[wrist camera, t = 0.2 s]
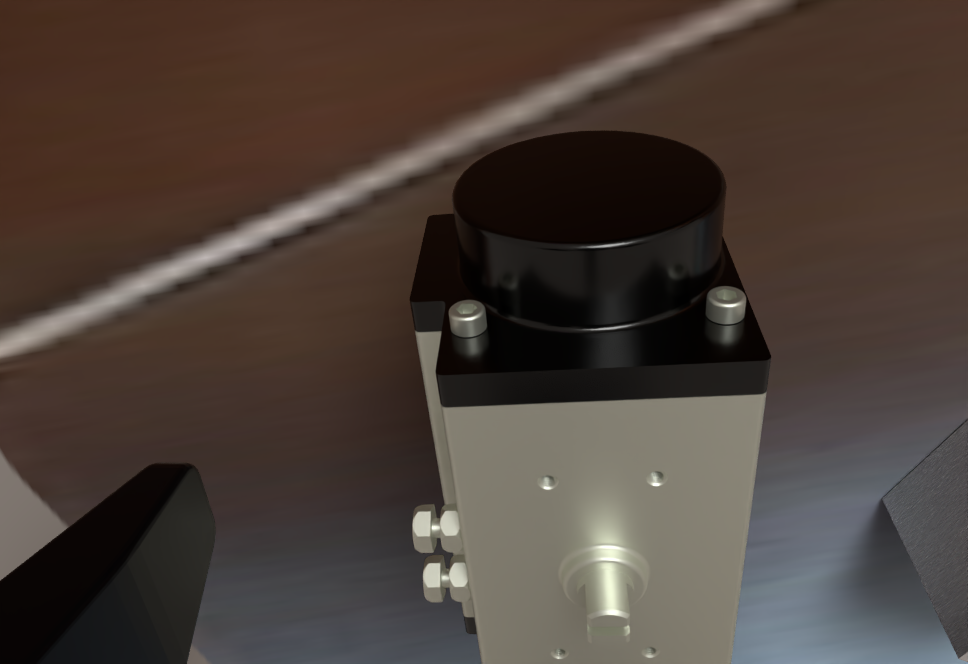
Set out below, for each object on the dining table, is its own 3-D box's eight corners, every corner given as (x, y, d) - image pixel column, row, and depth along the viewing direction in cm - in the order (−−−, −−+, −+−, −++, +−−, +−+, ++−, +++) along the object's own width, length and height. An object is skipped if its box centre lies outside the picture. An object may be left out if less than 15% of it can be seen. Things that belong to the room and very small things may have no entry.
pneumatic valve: (667, 34, 19) (809, 318, 10) (654, 413, 26) (731, 812, 16) (435, 53, 20) (342, 341, 10) (481, 420, 26) (451, 811, 17)
